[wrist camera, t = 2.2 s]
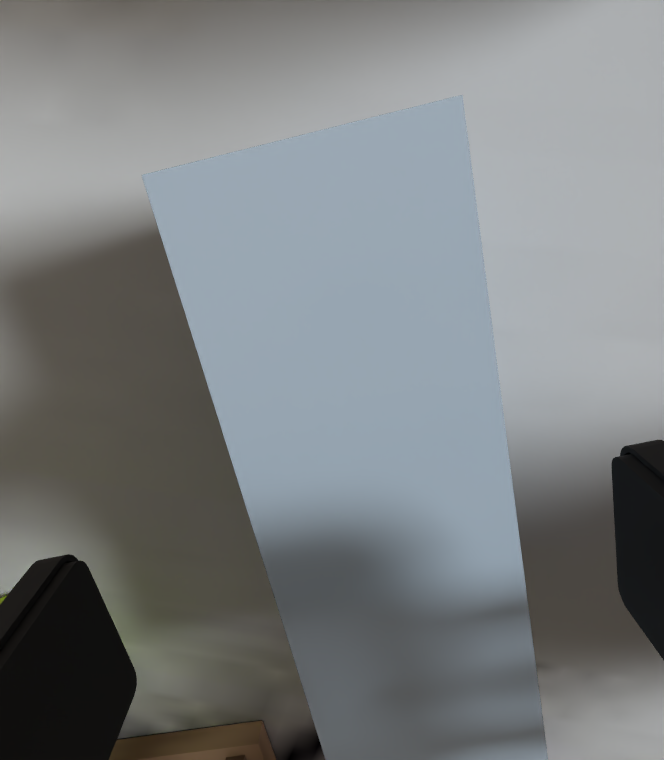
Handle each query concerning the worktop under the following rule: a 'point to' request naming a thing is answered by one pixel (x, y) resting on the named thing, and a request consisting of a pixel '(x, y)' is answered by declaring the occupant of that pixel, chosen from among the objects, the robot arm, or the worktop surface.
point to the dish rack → (200, 744)
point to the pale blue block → (367, 425)
